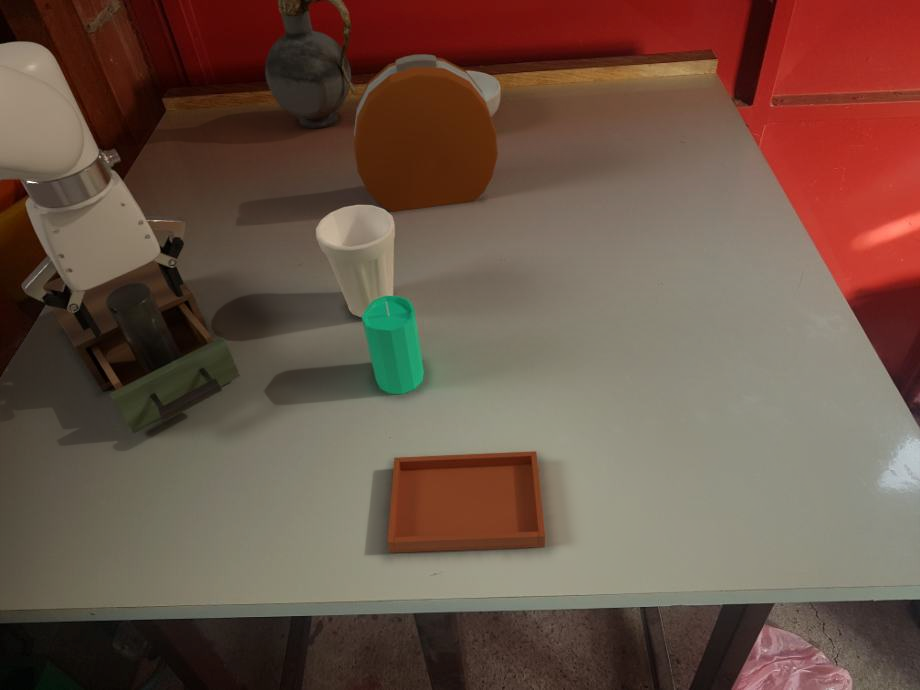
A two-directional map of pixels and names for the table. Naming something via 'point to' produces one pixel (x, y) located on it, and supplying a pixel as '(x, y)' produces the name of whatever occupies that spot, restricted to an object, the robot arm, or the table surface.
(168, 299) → the cabinet
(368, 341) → the candle
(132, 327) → the cylinder
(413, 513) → the tray
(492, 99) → the cereal bowl
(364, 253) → the cup
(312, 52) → the pitcher
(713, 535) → the table surface
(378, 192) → the alarm clock
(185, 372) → the drawer
